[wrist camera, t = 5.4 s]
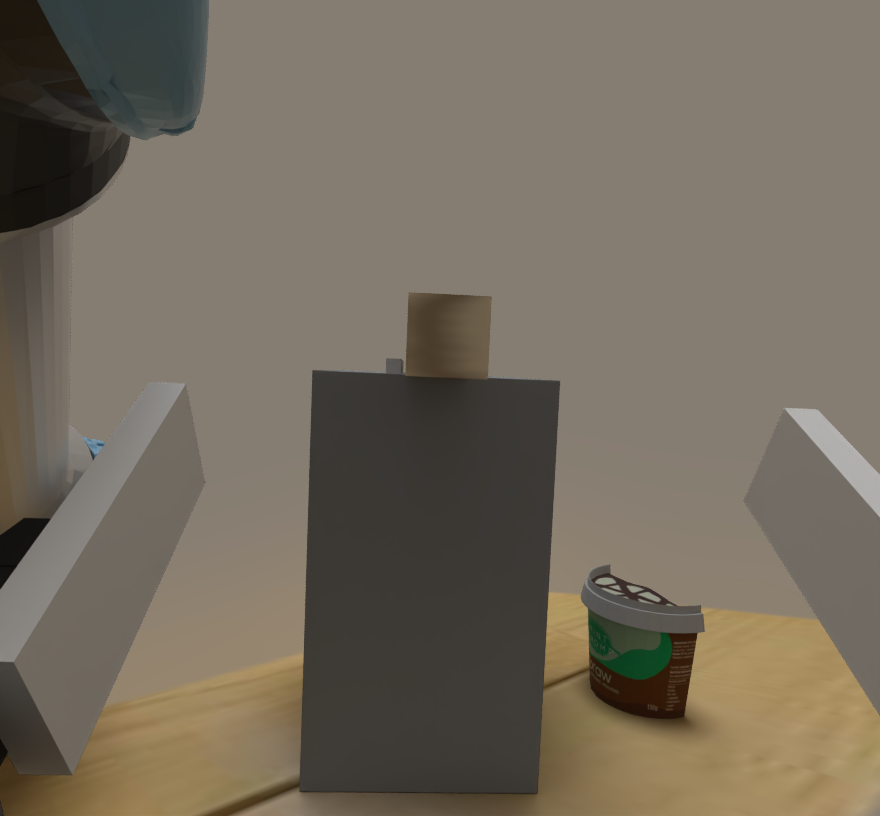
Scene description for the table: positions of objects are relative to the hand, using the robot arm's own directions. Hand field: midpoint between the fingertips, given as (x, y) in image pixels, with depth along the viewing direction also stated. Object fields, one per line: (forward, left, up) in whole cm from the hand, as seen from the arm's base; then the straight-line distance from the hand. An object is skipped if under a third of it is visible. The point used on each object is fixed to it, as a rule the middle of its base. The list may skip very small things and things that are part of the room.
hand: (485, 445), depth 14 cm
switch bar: (0, +29, +1) cm, 29 cm away
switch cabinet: (0, +35, -27) cm, 44 cm away
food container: (+18, +39, -27) cm, 51 cm away
